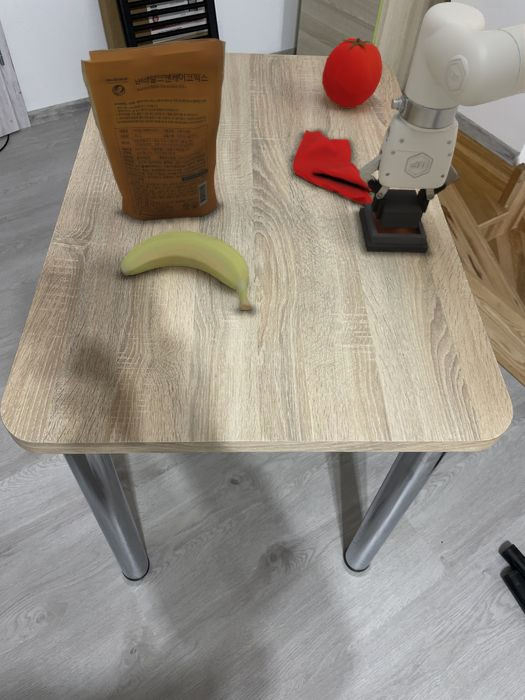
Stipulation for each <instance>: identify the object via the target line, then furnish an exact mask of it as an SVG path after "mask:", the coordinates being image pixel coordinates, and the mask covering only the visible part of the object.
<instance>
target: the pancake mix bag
mask: <svg viewBox="0 0 525 700" xmlns="http://www.w3.org/2000/svg"><path fill="white" fill-rule="evenodd" d="M226 44H227V43H226V41H224V40H221V39H219V38H199V39H197V38H195V39H184V40H174V41H166V42H159V43H158V42H157V43H151V44H148V45H143V46H142V45H141V46H135V47H133V46H132V47H122V48H108V49H106V48H105V49H95V50H89V51H88V55H89V59H80V64H81V65H80V66H81V75H82V81H83V83H84V86H85V88H86V91H87V95H88V99H89V104H90V108H91V111H92V116H93V119H94V124H95V126H96V128H97V130H98V132H99V137H100V141H101V143H102V146H103V148H104V151H105V155H106V157H107V160H108V162H109V166H110V169H111V172H112V176H113V177H114V181H115V183H116V186H117V188H118V191H119V193H120V196H121V212H122V213H123V214H125V215H127V216H129V217H131V218H133V219H134V220H137V221H143V222H144V221H156V220H168V219H169V220H171V219H179V218H180V219H181V218H182V219H183V218H198V217H199V218H201V217H204V216H206V215H209V214H210V213H211V212H213V211H214V210H216V208H217V207H218V206H219V201H218V197H217V193H216V186H215V173H216V172H215V171H216V167H217V138H218V134H219V133H218V132H219V127H220V122H221V112H222V96H223V94H222V93H223V85H224V79H225V63H226Z"/></svg>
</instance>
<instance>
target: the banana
mask: <svg viewBox="0 0 525 700" xmlns="http://www.w3.org/2000/svg"><path fill="white" fill-rule="evenodd" d="M169 266H170V267H171V266H179V267H180V266H181V267H188V268H194V269H196V270H197V269H198V270H200V271H203V272H204V273H207V274H209V275H211V276H213V278H215V279H217V280H218V281H220V282H221V283H222V284H224V285H225V286H227V287H229V288H231V289H233V290H236V291H237V293H238V296H239V308H240V310H241V311H250V310H252V308H253V306H252V304H251V302H250V300H249V298H248V293H247V291H248V284H249V280H250V274H249V268H248V264H247V261H246V260H245V258H244V256H243V255H242V254H241V253H240V251H238V250H237V248H235V247H234V246H232V245H230V244H229V242H228V243H227V242H226V241H225V240H223V239H220V238H218V237H215V236H213V235H210V234H207V233H203V232H200V231H199V232H198V231H192V230H173V231H172V230H171V231H166V232H161V233H158V234H155V235H151V236H150V237H148V238H146V239H144V240H143V241H141V242H139V243H138V244H136V245H135V246H134V247H133V248H131V250H130V251H128V253H126V255H125V256H124V258H123V259H122V261H121V262H120V265H119V269H120V271H121V273H122V274H123V275H124V276H134V275H138V274H141V273H144V272H148V271H150V270H154V269H157V268H158V269H159V268H163V267H164V268H165V267H169Z"/></svg>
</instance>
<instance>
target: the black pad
mask: <svg viewBox="0 0 525 700" xmlns="http://www.w3.org/2000/svg"><path fill="white" fill-rule="evenodd" d="M417 194H418V192H417V190H416V189H407V188H389V190H388V191H387V192H386V194H385V198H386V202H385V206H384V207H383V211H382V214H381V218H380V219H379V221H380V226H381V228H412V229H417V228H418V225H419V222H420V219H421V220H422V218H421V216H422V217H423V215H424V213H423V212H422V209H421V206H420V203H419V200H418V197H417ZM422 214H423V215H422Z"/></svg>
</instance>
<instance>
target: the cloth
mask: <svg viewBox="0 0 525 700" xmlns="http://www.w3.org/2000/svg"><path fill="white" fill-rule="evenodd" d="M351 158H352V149H351V145H350V141H349V139H342V138H332V139H330V138H329V137H328V136H324V134H323V133H322V132H321V131H320V130H316V131H310V130H307V129H306V130H305V132H304V134H303V137H302V139H301V141H300V143H299V145H298V147H297V150H296V153H295V156H294V159H293V163H292V168H293V172H294V174H296V175H297V176H299V177H300V178H302V179H304V180H306V181H307V182H309V183H312V184H314V185H316V186H318V187H320V188H323V189H325V190H328V191H330V192H333V193H335V194H338V195H340V196H342V197H344V198H346V199H349V200H351V201H354V202H356V203H359V204H361V205H364V206H365V204H366V202H368V203H372V202H373V198H372V196H371V195H370V193H369V192H373V191H372V190H371V189H370V188H369V187H368V185H367V184H366V183H365V182H364V181H363V180H362V179H361V178H360V175H359V170H360V169H358V168H357V166H356V165H355V164H354V163H352V162H351ZM367 189H368V190H367Z"/></svg>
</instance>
